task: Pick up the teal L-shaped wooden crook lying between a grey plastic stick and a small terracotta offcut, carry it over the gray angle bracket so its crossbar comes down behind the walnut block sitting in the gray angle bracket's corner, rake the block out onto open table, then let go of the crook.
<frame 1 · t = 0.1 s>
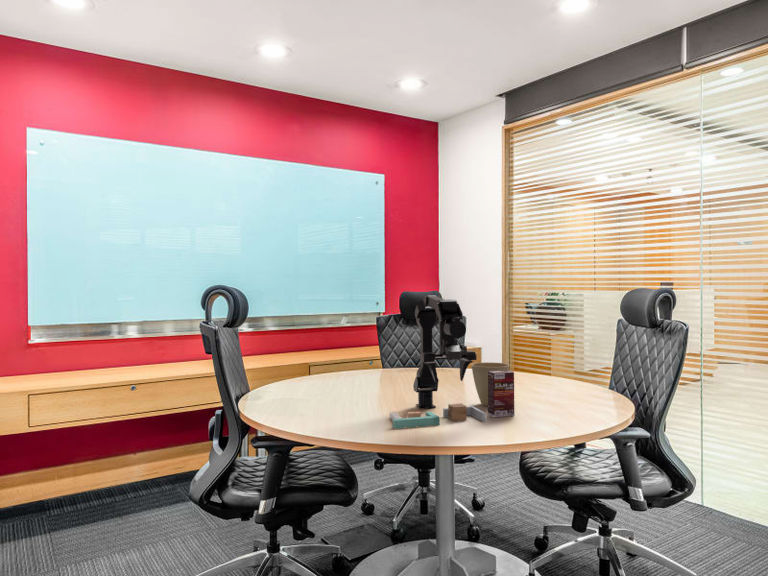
hand: (448, 381, 186), 15 cm above the table, tool pointing down, fingers open, 9 cm apart
gray angle bracket: (463, 418, 192), on the table
stick: (395, 422, 191), on the table
offcut: (414, 419, 193), on the table
crook: (416, 426, 184), on the table
plant pot: (491, 405, 215), on the table
block: (457, 419, 192), on the table
supplement box: (501, 415, 197), on the table
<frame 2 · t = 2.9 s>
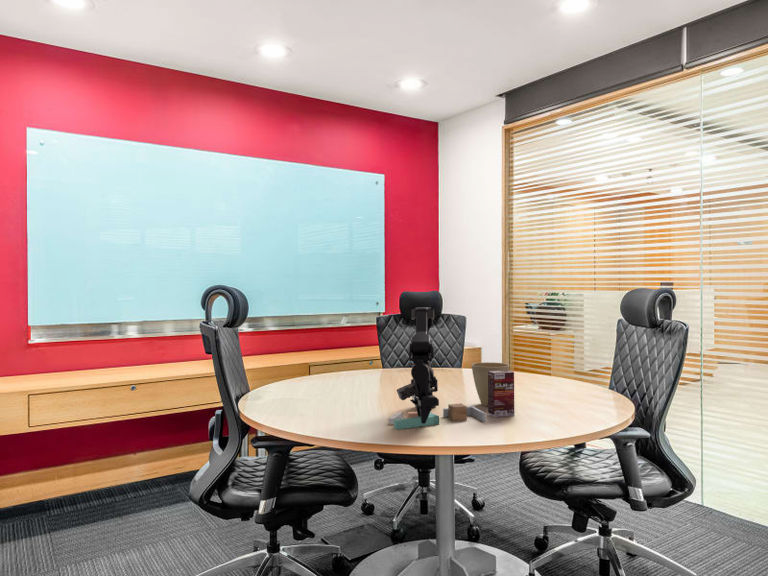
hand: (422, 422, 184), 1 cm above the table, tool pointing down, fingers closed on crook, 3 cm apart
crook: (416, 426, 183), on the table, touching gripper
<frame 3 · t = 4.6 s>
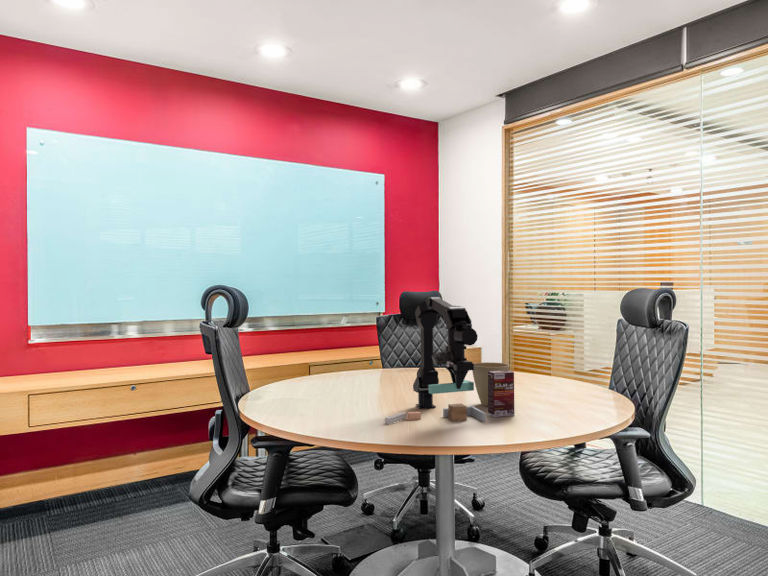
hand: (457, 388, 187), 12 cm above the table, tool pointing down, fingers closed on crook, 3 cm apart
crook: (451, 391, 186), point 11 cm above the table, touching gripper
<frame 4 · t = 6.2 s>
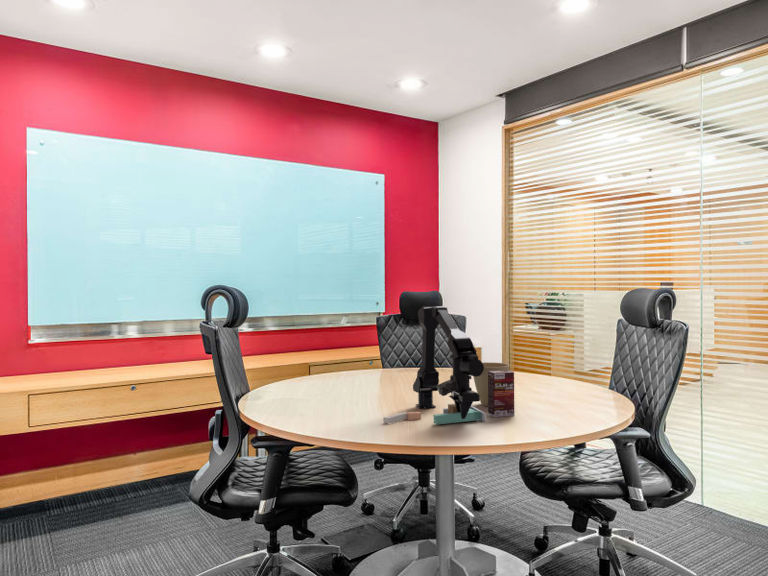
hand: (461, 417, 187), 2 cm above the table, tool pointing down, fingers closed on crook, 2 cm apart
crook: (456, 421, 186), point 1 cm above the table, touching gripper
block: (457, 419, 193), on the table, touching gripper
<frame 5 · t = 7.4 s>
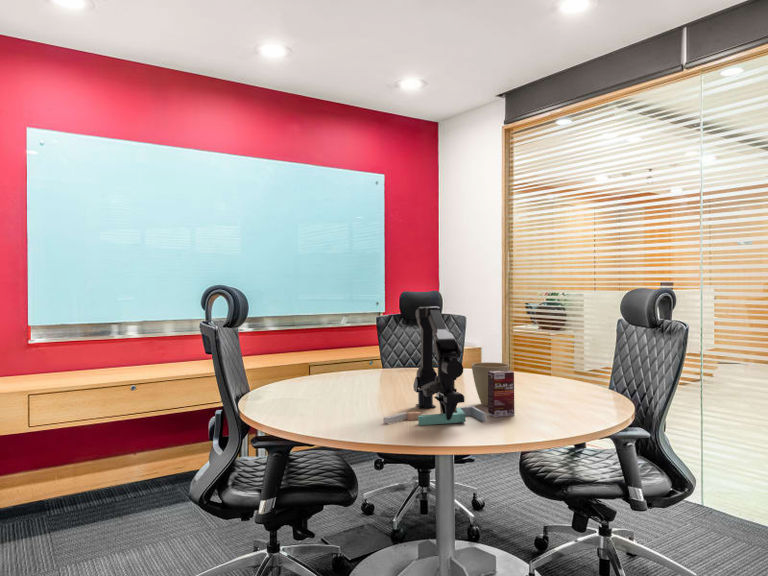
hand: (447, 418, 186), 2 cm above the table, tool pointing down, fingers closed on crook, 3 cm apart
crook: (441, 422, 186), on the table, touching block, gripper
block: (448, 419, 192), on the table, touching crook, gripper
everything else where it was.
when the fingers open (2 cm above the table, at t = 9.2 s): crook stays where it is, on the table.
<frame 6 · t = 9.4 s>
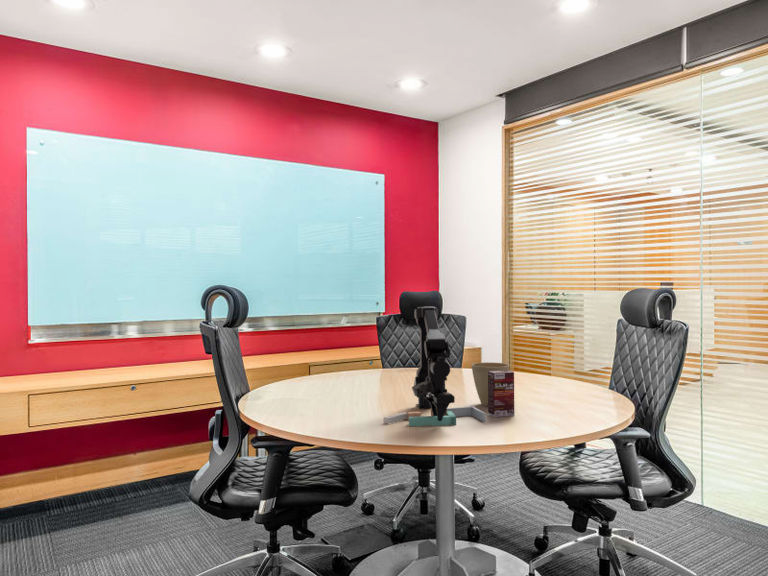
hand: (437, 419, 185), 2 cm above the table, tool pointing down, fingers open, 4 cm apart
crook: (432, 425, 185), on the table
block: (439, 419, 192), on the table, touching gripper
everything else where it was.
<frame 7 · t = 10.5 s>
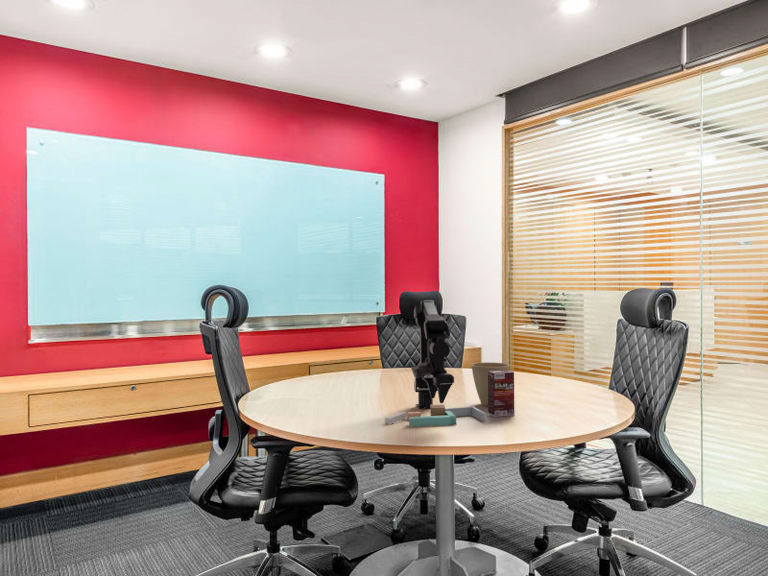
hand: (437, 400, 185), 8 cm above the table, tool pointing down, fingers open, 9 cm apart
block: (437, 420, 191), on the table
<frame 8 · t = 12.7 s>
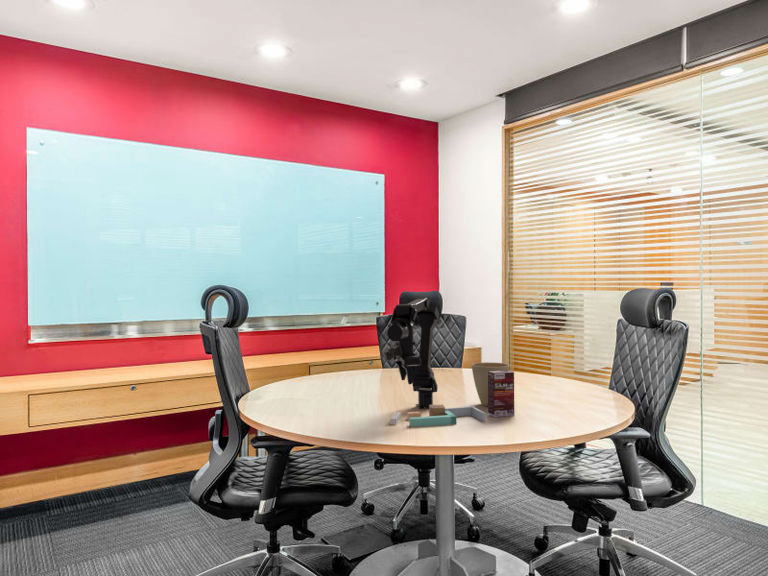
hand: (406, 382, 195), 13 cm above the table, tool pointing down, fingers open, 9 cm apart
crook: (433, 425, 185), on the table, touching block
block: (437, 420, 191), on the table, touching crook
at the end: block inside the target area (2.8 cm from its centre), on the table; block moved 7.4 cm from its start; the gripper is holding nothing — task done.
